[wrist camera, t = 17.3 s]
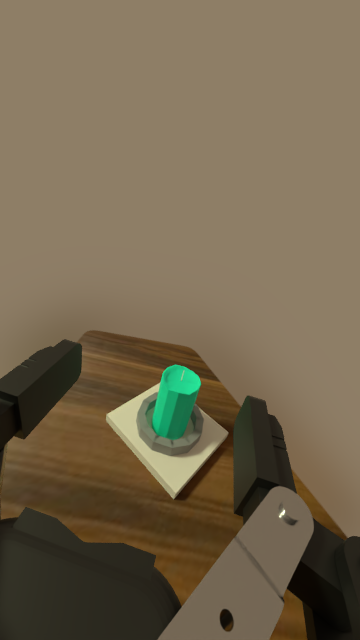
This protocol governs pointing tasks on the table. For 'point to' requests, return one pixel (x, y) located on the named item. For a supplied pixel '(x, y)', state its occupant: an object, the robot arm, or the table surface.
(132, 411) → the jig plate
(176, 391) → the candle
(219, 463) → the table surface
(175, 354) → the table surface
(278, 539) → the robot arm
